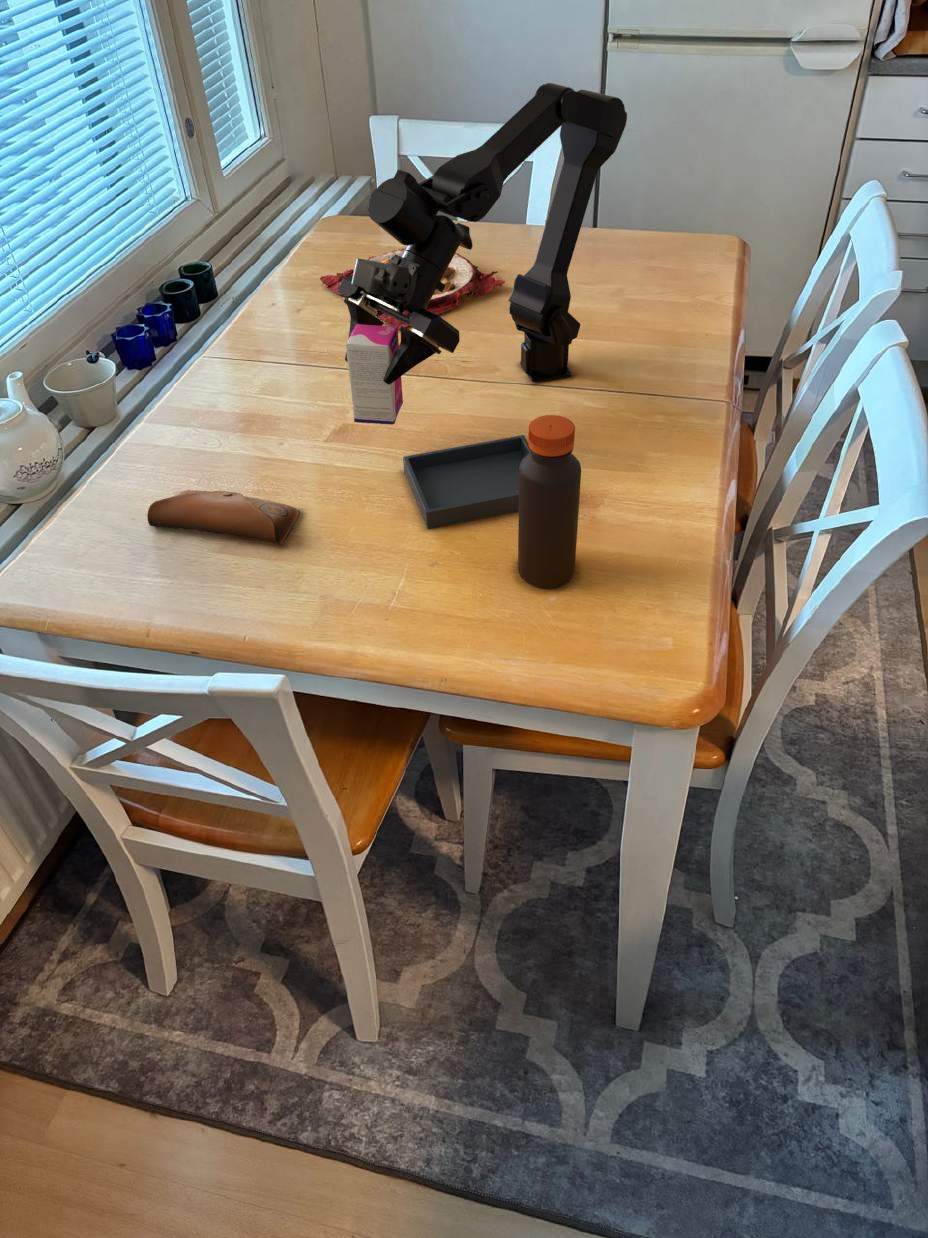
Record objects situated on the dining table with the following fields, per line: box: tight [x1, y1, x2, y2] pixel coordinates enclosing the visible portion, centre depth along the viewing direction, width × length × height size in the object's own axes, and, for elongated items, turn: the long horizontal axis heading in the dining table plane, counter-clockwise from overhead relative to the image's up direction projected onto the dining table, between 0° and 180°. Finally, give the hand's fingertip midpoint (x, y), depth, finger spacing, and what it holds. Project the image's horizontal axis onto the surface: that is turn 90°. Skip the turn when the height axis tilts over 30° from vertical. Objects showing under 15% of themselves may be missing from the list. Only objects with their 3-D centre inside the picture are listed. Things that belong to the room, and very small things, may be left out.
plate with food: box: [319, 246, 506, 330], centre depth 171 cm, size 24×26×4 cm
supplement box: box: [345, 324, 404, 426], centre depth 124 cm, size 6×6×12 cm
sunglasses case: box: [146, 489, 301, 545], centre depth 121 cm, size 18×7×7 cm
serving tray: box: [402, 434, 530, 530], centre depth 125 cm, size 17×13×3 cm
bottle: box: [517, 414, 582, 589], centre depth 106 cm, size 7×7×20 cm
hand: (366, 372), depth 123 cm, fingers closed on supplement box, 7 cm apart
